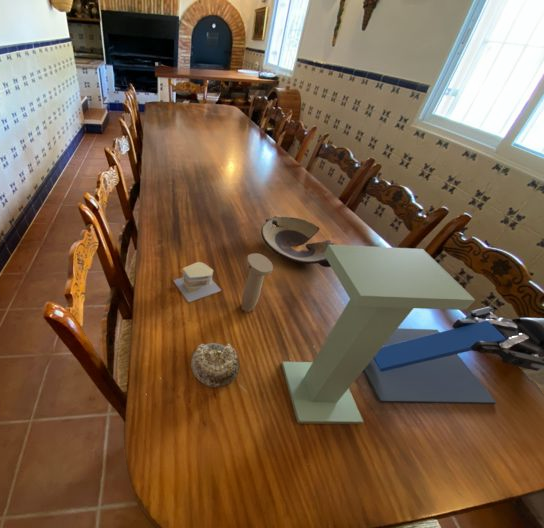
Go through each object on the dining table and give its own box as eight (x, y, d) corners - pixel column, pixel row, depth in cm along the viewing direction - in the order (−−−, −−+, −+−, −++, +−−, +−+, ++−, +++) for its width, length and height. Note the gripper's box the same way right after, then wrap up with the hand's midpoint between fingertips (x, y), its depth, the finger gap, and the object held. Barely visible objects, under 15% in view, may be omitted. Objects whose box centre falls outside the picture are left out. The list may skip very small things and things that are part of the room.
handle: (249, 297, 78) (261, 251, 68) (262, 315, 73) (277, 269, 63) (232, 301, 76) (243, 255, 66) (245, 320, 71) (258, 273, 62)
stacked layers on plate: (188, 302, 75) (189, 286, 71) (172, 280, 80) (173, 264, 77) (221, 290, 79) (224, 275, 75) (204, 270, 84) (206, 255, 81)
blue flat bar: (486, 324, 60) (487, 320, 59) (505, 342, 56) (506, 338, 55) (370, 353, 65) (370, 350, 65) (381, 372, 62) (380, 368, 61)
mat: (436, 330, 73) (437, 329, 73) (494, 404, 59) (496, 402, 59) (342, 328, 72) (343, 326, 71) (379, 402, 58) (381, 400, 57)
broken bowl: (306, 226, 107) (312, 208, 102) (356, 283, 85) (368, 262, 80) (247, 229, 103) (252, 210, 98) (284, 290, 80) (292, 268, 76)
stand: (335, 365, 64) (418, 244, 43) (361, 424, 54) (482, 306, 34) (271, 363, 63) (325, 240, 42) (286, 423, 53) (364, 302, 33)
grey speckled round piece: (243, 386, 59) (249, 373, 55) (194, 392, 57) (196, 379, 54) (232, 341, 66) (236, 328, 62) (187, 346, 64) (189, 332, 61)
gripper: (528, 298, 62) (451, 295, 61) (602, 358, 51) (509, 356, 50) (502, 321, 67) (430, 319, 66) (564, 381, 56) (479, 379, 55)
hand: (465, 335), depth 58 cm, fingers closed on blue flat bar, 4 cm apart
